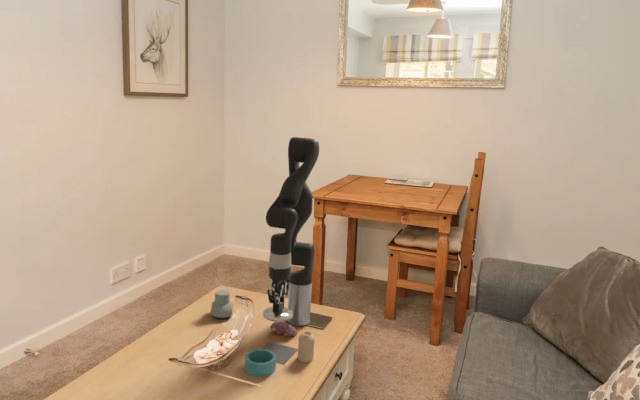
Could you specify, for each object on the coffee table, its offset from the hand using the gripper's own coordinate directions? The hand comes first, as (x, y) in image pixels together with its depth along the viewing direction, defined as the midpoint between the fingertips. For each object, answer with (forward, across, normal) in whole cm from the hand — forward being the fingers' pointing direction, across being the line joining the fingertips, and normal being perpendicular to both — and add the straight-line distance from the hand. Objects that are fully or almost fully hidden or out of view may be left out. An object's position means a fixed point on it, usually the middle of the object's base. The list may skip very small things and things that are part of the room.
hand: (278, 310), depth 182 cm
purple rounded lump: (+17, -14, -4) cm, 22 cm away
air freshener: (+17, -18, -34) cm, 42 cm away
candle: (+17, -1, +11) cm, 20 cm away
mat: (+17, 0, 0) cm, 17 cm away
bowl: (+16, +12, 0) cm, 21 cm away
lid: (+2, 0, 0) cm, 2 cm away
